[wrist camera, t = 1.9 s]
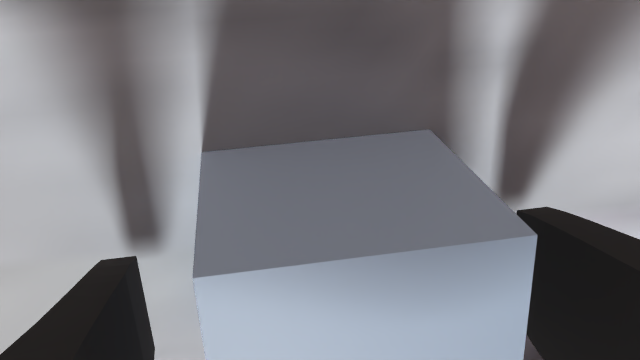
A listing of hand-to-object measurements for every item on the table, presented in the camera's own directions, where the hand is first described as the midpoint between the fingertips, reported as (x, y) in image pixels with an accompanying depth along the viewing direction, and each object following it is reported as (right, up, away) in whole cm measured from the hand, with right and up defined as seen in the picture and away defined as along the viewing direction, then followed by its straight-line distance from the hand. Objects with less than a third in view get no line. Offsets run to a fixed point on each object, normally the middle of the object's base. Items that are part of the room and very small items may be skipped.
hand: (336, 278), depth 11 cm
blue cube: (0, +1, +1) cm, 2 cm away
